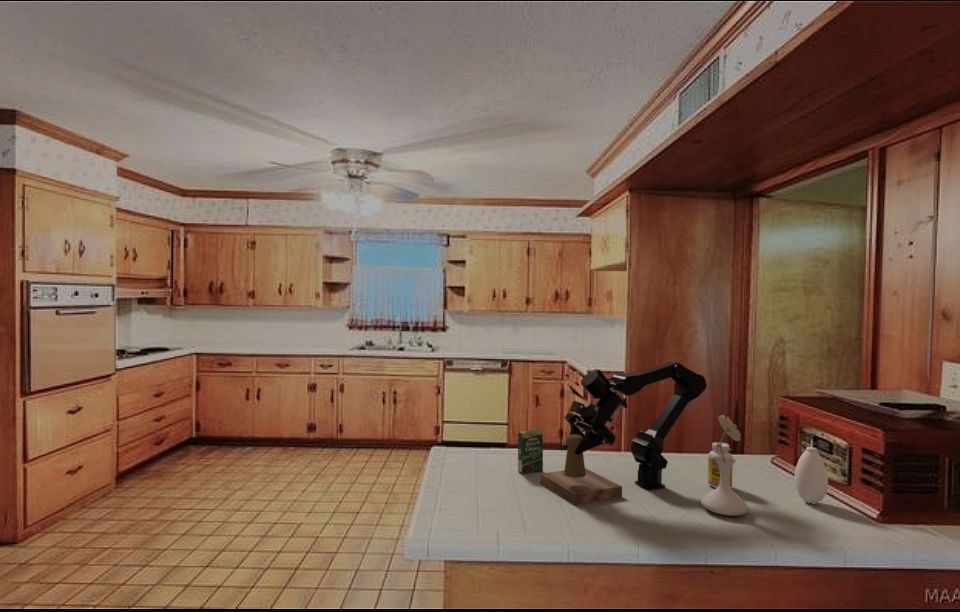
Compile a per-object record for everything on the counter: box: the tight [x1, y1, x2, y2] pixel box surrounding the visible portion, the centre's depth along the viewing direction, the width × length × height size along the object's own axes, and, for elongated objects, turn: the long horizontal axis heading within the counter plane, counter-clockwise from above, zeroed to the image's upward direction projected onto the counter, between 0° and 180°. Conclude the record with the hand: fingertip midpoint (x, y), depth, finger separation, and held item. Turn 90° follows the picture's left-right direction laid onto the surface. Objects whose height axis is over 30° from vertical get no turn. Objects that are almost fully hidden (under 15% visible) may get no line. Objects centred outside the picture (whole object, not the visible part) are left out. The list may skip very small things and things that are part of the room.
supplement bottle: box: [707, 441, 734, 489], centre depth 155 cm, size 7×7×13 cm
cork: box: [564, 434, 586, 478], centre depth 146 cm, size 6×6×11 cm
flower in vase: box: [700, 414, 749, 517], centre depth 137 cm, size 13×11×25 cm
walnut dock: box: [539, 467, 623, 506], centre depth 151 cm, size 16×18×3 cm
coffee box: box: [517, 429, 544, 474], centre depth 167 cm, size 8×3×13 cm, turn 113°
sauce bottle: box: [794, 438, 829, 505], centre depth 143 cm, size 8×8×18 cm
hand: (570, 451), depth 146 cm, fingers closed on cork, 5 cm apart
